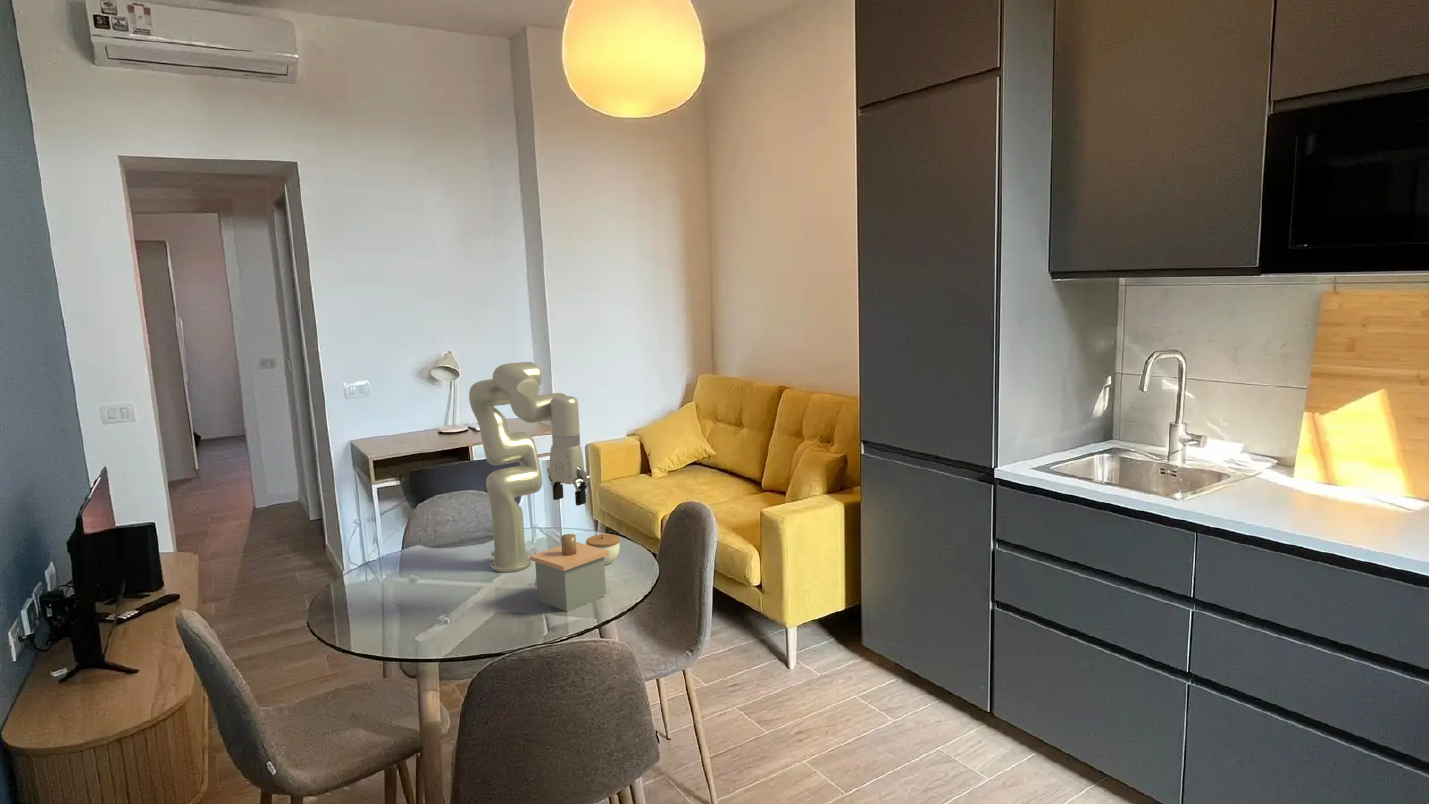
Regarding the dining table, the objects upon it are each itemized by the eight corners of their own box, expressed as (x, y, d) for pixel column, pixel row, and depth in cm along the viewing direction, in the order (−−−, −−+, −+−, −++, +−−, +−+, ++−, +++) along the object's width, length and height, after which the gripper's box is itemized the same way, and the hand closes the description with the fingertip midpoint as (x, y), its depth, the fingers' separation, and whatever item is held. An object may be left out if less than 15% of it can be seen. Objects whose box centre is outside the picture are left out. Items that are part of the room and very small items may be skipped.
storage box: (537, 600, 224) (535, 559, 223) (576, 586, 235) (574, 546, 233) (567, 611, 216) (564, 569, 214) (606, 595, 226) (603, 555, 225)
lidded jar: (627, 559, 257) (626, 531, 255) (606, 570, 248) (604, 541, 246) (602, 555, 262) (600, 527, 261) (580, 564, 253) (578, 536, 252)
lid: (530, 563, 223) (528, 538, 222) (575, 548, 235) (573, 524, 234) (564, 574, 213) (562, 548, 212) (609, 558, 225) (607, 533, 224)
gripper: (535, 440, 222) (539, 499, 224) (575, 446, 211) (579, 509, 213) (557, 436, 227) (560, 494, 230) (597, 442, 216) (600, 503, 219)
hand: (569, 501), depth 221 cm, fingers open, 9 cm apart
